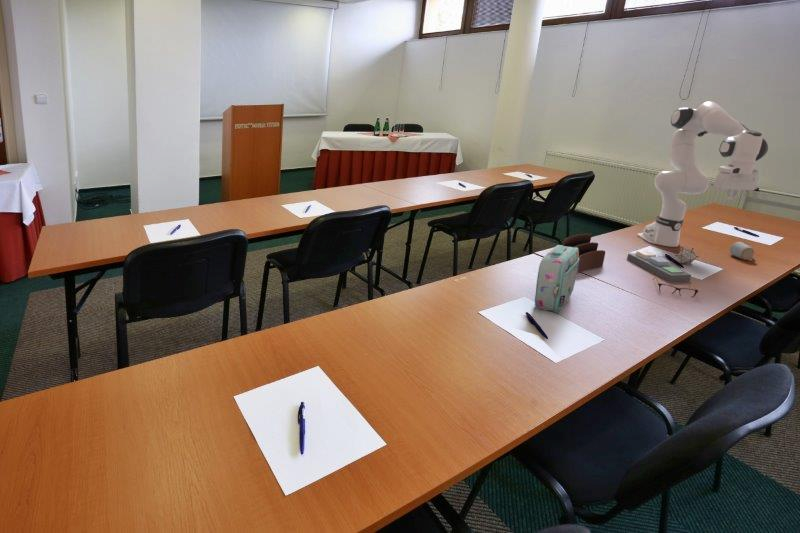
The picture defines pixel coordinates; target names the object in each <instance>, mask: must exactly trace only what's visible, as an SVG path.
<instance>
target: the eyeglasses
mask: <svg viewBox="0 0 800 533" xmlns="http://www.w3.org/2000/svg"><path fill="white" fill-rule="evenodd" d="M654 280H656V282H657V285H658V290H659V292H661V286H668V287H673V288H674V291H673V292H671V293H670V294H671V295H673V294H674V293H676V291H678V293H679V296H682V295H681V290H690V291H694V294H693V295H692V296H691V298H694V297H695V296H696V295H697V293H698V292H699V290H698V288H697V287H696V285H695V283H694V282H691V283H690V284H689V285H688V287H691V286H692V285H693V286H692V287H694V289H693V288H685V287H684V288H683V287H681V288H680V287H676V286H673V285H670V284H666V283H660V282H659V279H658V278H657V275H656V276H654V277H653V278H652V281H654Z"/></svg>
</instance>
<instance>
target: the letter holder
mask: <svg viewBox="0 0 800 533" xmlns="http://www.w3.org/2000/svg"><path fill="white" fill-rule="evenodd" d="M591 240H592V234H590V233H579V234H575V235H572V236H571V235H570V236H568V237H565V238H564V239H563V240H562V242H561V246H567V247H573V248H575V247H577V248H578V251H579V256H578V257H579V265H578V270H577V273H581V272H584V271H590V270H593V269H597V268H602V267H603V266H604V263H605V262H604V261H605V256H606V250H604V249H603V250H600V249H599V250H598V247H599V243H598V242H593V241H592V242H591Z"/></svg>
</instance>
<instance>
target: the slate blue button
mask: <svg viewBox="0 0 800 533" xmlns="http://www.w3.org/2000/svg"><path fill="white" fill-rule="evenodd" d="M648 262H650V263H652V264H654V265H656V266H669V264H670V263H671V261H669V260H668V259H666V258H663V257H661V256H656V257H649V260H648Z"/></svg>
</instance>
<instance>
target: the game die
mask: <svg viewBox="0 0 800 533" xmlns="http://www.w3.org/2000/svg"><path fill="white" fill-rule="evenodd" d="M681 248H682V249H681V250H680V251H679V253H678V254H675V255H674V256H675V257H677V259H678V260H679V262H680V263H681V264H680V265H682V264H688V265H690V266H692V265H693V264H692V263H694V261H695V260H696V258H699V256H697V255H696V253H695V252H694V247H693V248H684V247H683V246H682V247H681Z"/></svg>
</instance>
